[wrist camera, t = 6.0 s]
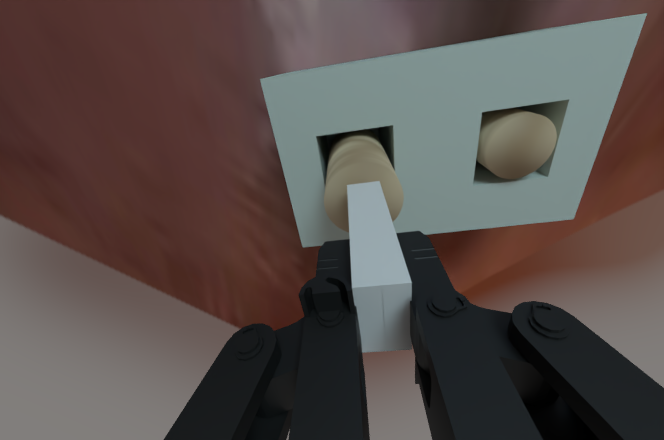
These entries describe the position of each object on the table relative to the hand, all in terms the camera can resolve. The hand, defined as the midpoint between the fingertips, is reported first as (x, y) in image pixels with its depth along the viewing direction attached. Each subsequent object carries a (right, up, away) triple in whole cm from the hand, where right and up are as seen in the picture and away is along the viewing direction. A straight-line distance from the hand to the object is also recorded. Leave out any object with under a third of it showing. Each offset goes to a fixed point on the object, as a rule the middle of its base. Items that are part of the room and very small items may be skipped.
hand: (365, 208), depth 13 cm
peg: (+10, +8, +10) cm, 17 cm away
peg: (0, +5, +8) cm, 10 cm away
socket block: (+5, +8, +12) cm, 16 cm away
